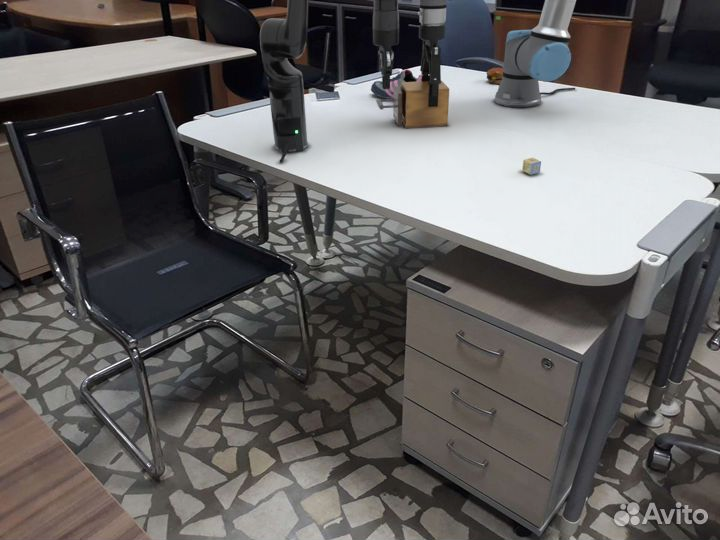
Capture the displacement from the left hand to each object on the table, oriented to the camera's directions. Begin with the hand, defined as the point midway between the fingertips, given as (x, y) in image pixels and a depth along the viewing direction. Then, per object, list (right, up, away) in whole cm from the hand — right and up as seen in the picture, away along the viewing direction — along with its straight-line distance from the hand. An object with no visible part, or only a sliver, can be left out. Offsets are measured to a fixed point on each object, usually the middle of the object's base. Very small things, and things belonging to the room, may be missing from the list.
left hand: (386, 88), depth 172 cm
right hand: (+13, -3, +3) cm, 14 cm away
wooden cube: (+12, -9, +6) cm, 16 cm away
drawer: (+6, -8, +5) cm, 11 cm away
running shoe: (+6, +5, +29) cm, 30 cm away
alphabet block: (+34, -31, -32) cm, 56 cm away
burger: (+46, +18, +49) cm, 69 cm away
